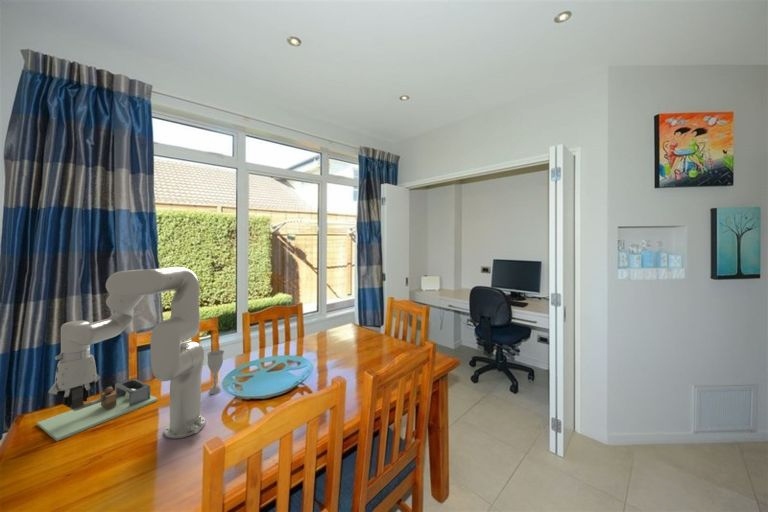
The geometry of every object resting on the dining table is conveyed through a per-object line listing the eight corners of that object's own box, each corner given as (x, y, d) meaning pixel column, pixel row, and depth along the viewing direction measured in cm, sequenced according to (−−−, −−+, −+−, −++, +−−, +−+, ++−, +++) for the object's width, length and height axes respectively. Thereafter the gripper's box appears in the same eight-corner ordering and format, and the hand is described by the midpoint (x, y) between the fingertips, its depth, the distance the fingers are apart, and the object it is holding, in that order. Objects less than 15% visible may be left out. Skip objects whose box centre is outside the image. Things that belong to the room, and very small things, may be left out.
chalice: (215, 396, 131) (215, 356, 131) (202, 394, 133) (202, 354, 132) (227, 388, 139) (227, 350, 138) (214, 386, 140) (215, 349, 139)
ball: (141, 389, 127) (130, 390, 123) (137, 399, 126) (126, 400, 122) (136, 387, 128) (125, 387, 125) (132, 397, 127) (121, 397, 124)
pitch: (157, 400, 126) (157, 398, 126) (56, 441, 99) (56, 438, 99) (135, 389, 134) (135, 387, 134) (37, 424, 108) (37, 422, 107)
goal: (150, 400, 126) (150, 384, 126) (130, 408, 120) (130, 391, 120) (134, 392, 132) (134, 377, 132) (114, 399, 126) (115, 383, 125)
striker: (116, 405, 119) (116, 377, 118) (73, 421, 108) (73, 391, 107) (110, 402, 121) (110, 374, 121) (67, 417, 110) (67, 387, 109)
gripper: (46, 364, 100) (47, 417, 101) (109, 349, 115) (109, 395, 116) (38, 360, 103) (39, 411, 104) (100, 346, 118) (100, 391, 119)
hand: (76, 402), depth 110 cm, fingers open, 3 cm apart
